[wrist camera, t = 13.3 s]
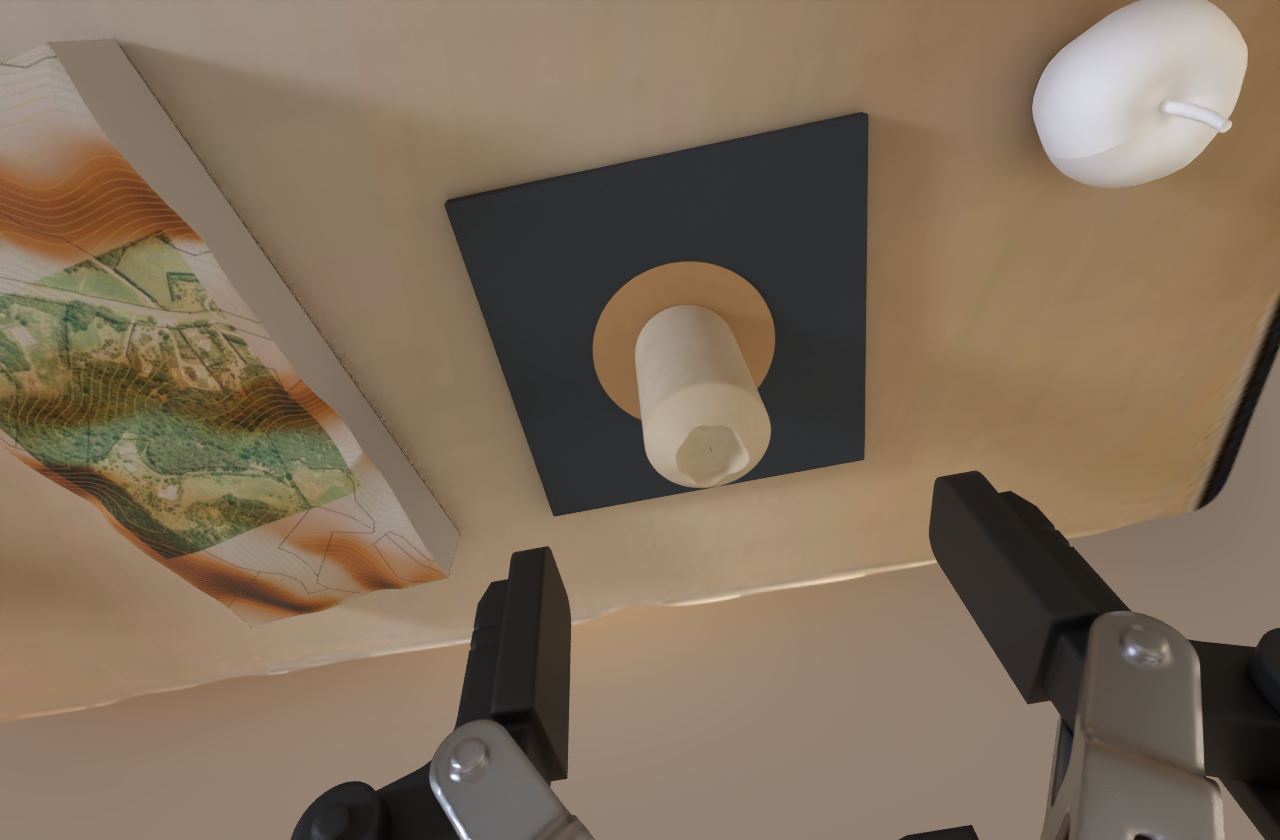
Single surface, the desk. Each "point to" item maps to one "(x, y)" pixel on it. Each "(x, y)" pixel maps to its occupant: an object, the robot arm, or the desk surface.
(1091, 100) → the plain white apple
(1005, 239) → the desk surface
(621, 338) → the mat
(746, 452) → the candle
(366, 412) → the topographic model
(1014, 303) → the desk surface
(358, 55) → the desk surface
